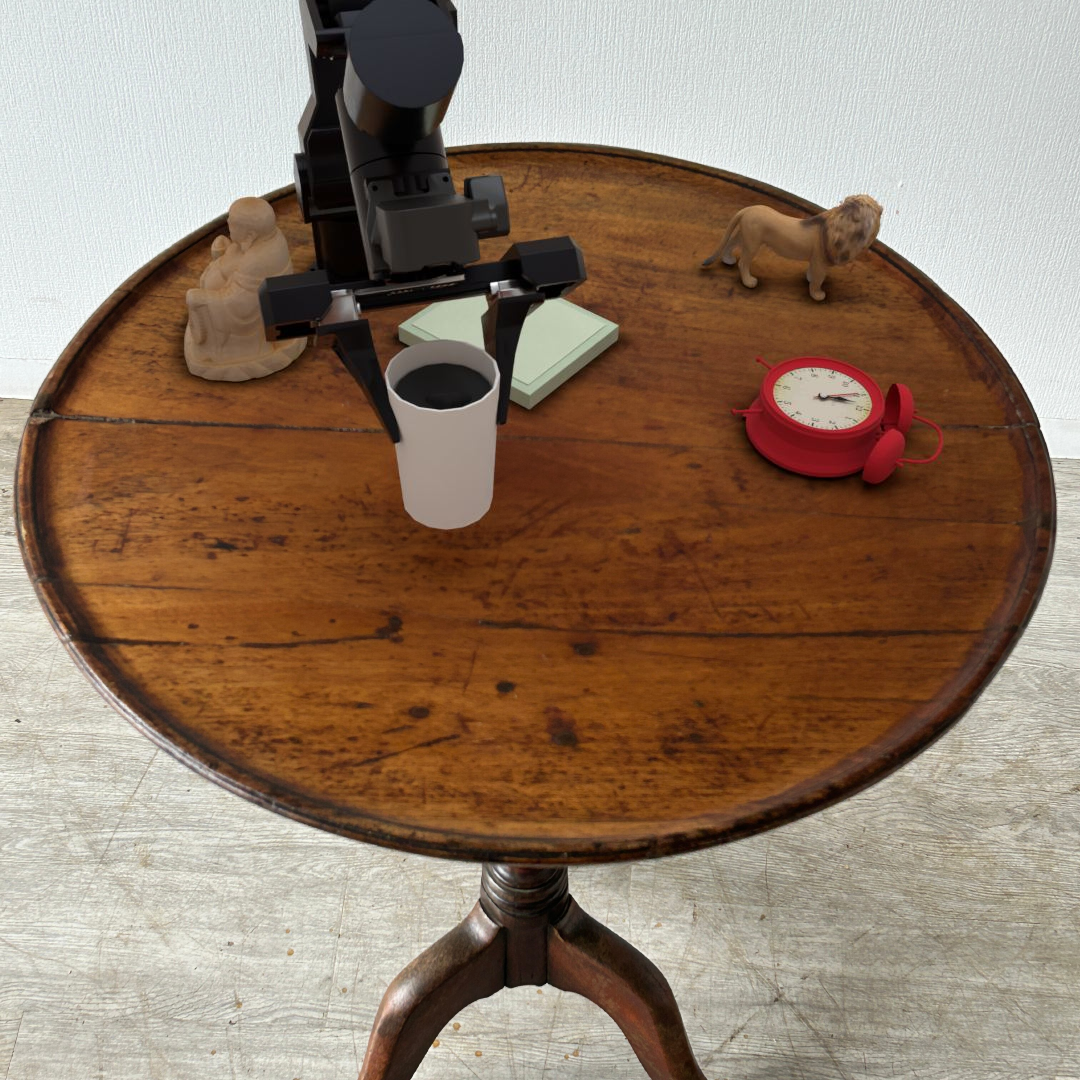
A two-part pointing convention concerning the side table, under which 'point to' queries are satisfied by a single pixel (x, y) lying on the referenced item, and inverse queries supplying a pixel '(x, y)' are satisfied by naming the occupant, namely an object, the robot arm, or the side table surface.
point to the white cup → (445, 430)
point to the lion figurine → (803, 237)
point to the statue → (239, 300)
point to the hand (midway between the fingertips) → (449, 434)
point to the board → (522, 340)
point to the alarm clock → (831, 420)
